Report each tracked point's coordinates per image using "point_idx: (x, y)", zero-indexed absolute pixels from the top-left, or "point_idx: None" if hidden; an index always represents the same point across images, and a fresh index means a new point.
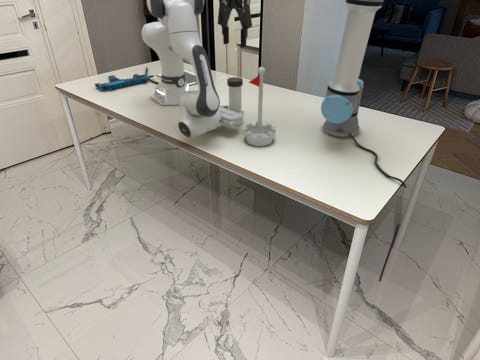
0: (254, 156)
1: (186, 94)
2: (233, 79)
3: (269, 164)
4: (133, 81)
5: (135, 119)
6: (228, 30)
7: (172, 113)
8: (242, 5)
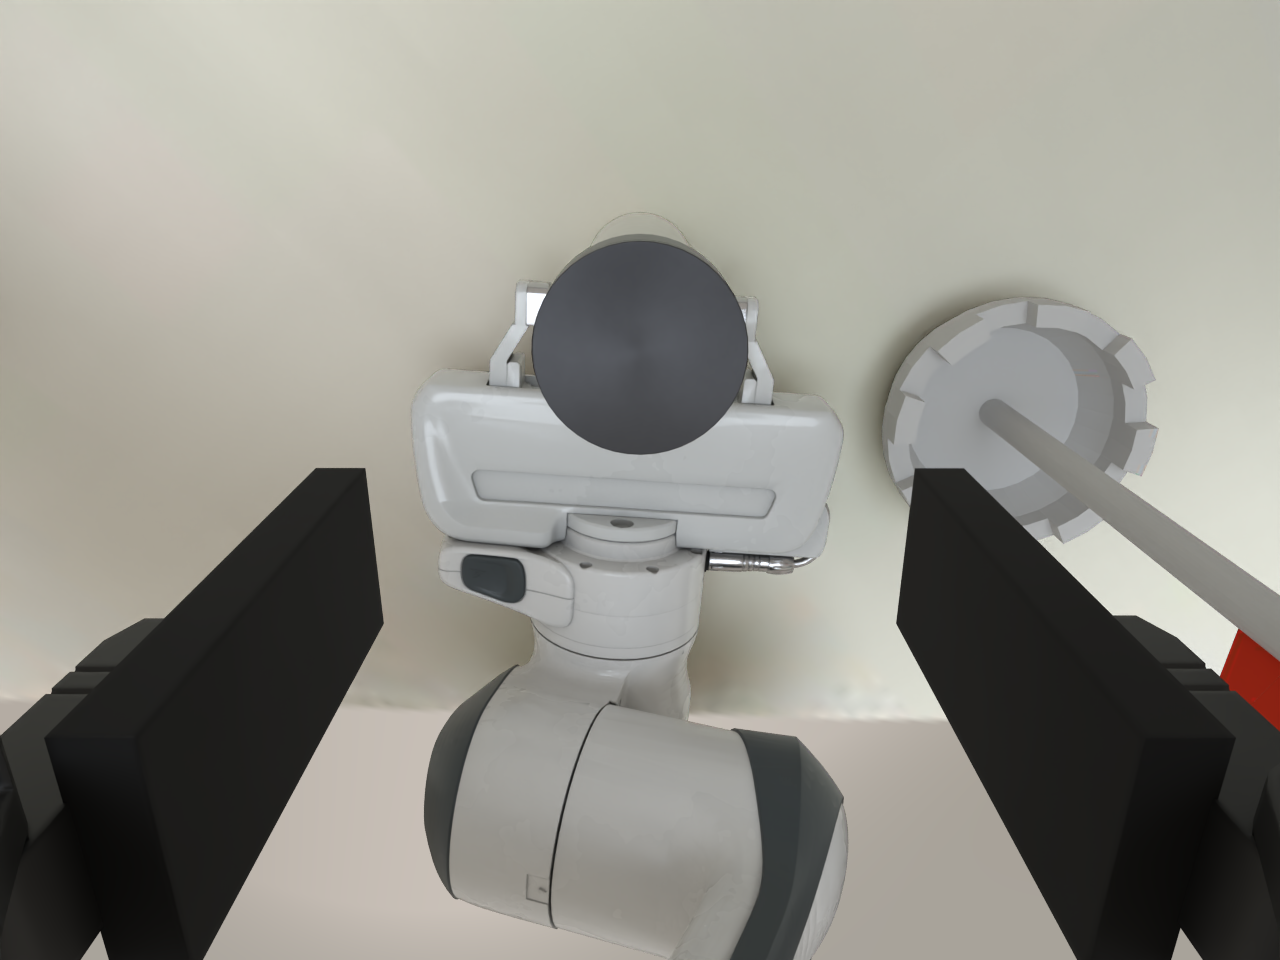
0: None
1: (527, 919)
2: (624, 367)
3: (1193, 621)
4: None
5: (7, 691)
6: (223, 657)
7: (77, 452)
8: None
